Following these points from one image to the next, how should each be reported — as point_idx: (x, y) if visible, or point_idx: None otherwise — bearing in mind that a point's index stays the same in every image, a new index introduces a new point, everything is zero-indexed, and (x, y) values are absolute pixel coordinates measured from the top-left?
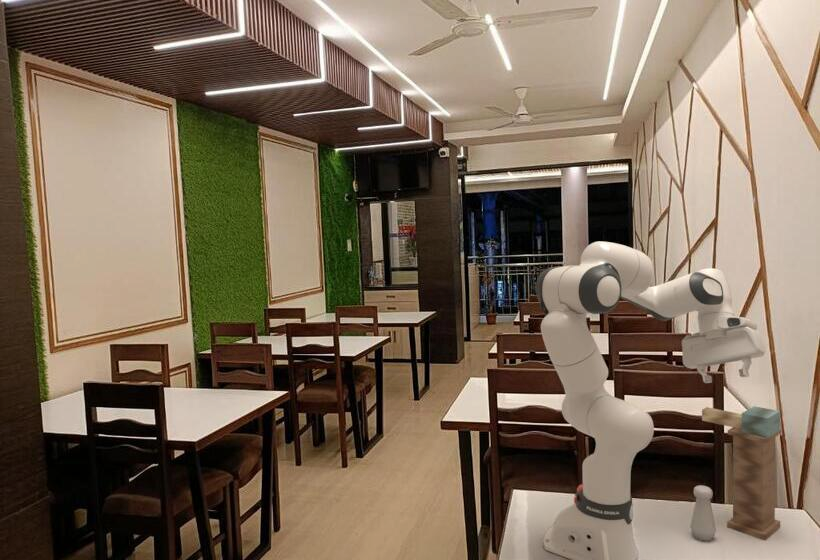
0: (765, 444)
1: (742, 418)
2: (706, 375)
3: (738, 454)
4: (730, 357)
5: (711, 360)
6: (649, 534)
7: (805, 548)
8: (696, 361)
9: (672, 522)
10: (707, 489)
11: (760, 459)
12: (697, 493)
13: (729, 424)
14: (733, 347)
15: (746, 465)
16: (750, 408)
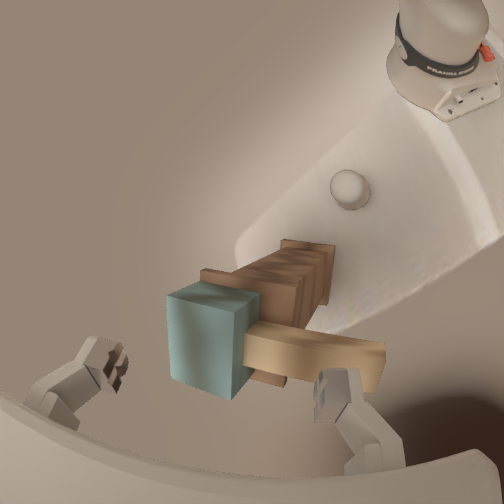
0: None
1: (239, 306)
2: (335, 399)
3: (288, 278)
4: (87, 442)
5: (260, 487)
6: (412, 147)
7: (241, 250)
8: (406, 490)
9: (404, 208)
10: (336, 183)
11: (242, 270)
12: (351, 170)
13: (300, 331)
14: (33, 488)
15: (278, 270)
16: (231, 375)
